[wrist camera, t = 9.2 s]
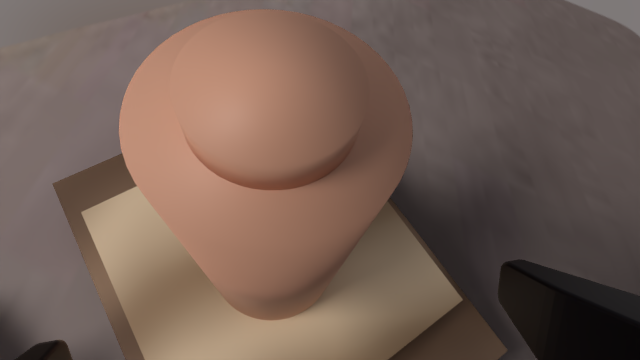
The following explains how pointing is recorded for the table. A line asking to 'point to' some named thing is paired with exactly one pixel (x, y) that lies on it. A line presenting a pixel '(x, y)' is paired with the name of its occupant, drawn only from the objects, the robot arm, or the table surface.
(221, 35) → the lidded jar
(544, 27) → the table surface
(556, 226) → the table surface
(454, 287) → the plinth
